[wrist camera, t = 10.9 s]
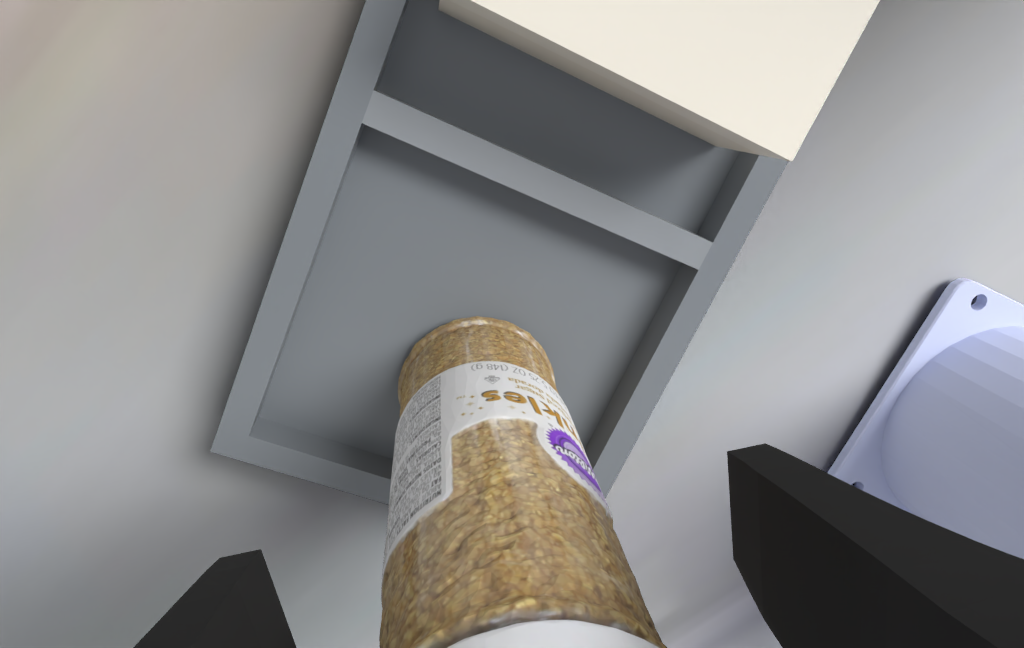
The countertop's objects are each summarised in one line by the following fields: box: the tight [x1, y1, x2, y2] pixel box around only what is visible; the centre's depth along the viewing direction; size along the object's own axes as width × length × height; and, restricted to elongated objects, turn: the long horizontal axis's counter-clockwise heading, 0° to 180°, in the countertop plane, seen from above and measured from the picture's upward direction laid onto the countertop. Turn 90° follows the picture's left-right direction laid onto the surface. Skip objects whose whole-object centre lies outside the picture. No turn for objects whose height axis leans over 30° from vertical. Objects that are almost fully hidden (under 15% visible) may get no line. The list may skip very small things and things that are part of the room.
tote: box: [210, 0, 788, 505], centre depth 17 cm, size 11×20×2 cm, turn 156°
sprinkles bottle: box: [380, 316, 667, 648], centre depth 13 cm, size 5×5×13 cm
